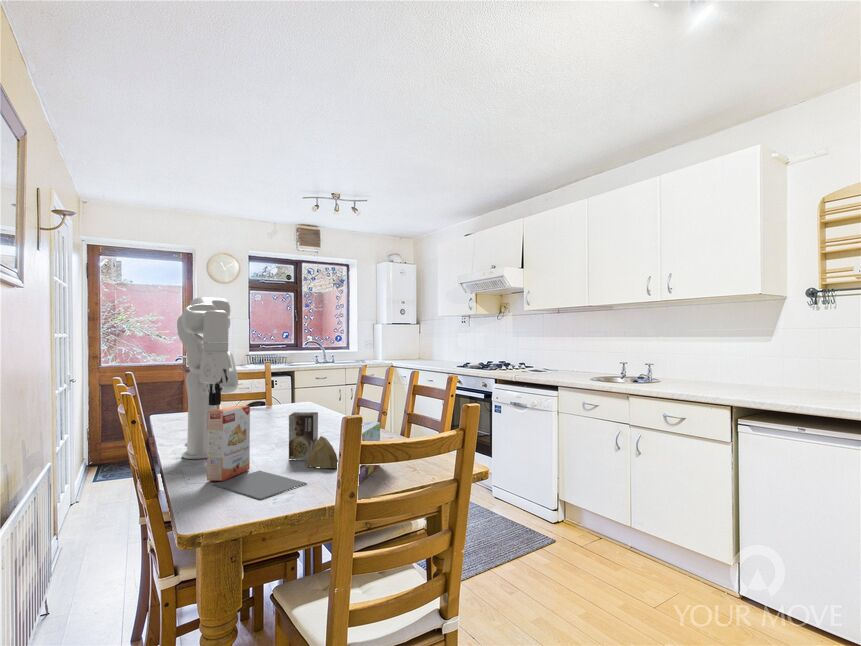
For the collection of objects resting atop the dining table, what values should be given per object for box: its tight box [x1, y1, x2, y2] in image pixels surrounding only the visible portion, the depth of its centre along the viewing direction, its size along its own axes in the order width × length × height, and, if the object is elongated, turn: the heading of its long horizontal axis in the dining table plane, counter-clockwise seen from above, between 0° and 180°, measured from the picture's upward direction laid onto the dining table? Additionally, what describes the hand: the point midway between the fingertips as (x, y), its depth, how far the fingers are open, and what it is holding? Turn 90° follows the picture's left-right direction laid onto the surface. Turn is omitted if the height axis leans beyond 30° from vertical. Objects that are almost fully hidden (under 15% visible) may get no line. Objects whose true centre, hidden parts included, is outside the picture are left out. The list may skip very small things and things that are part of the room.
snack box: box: [359, 421, 382, 484], centre depth 146 cm, size 21×6×15 cm, turn 170°
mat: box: [212, 470, 307, 501], centre depth 135 cm, size 22×16×1 cm
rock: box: [305, 435, 339, 470], centre depth 153 cm, size 11×9×10 cm
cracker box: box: [206, 405, 251, 482], centre depth 144 cm, size 14×6×21 cm, turn 168°
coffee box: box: [288, 411, 319, 461], centre depth 164 cm, size 9×6×16 cm
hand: (214, 404), depth 148 cm, fingers closed
